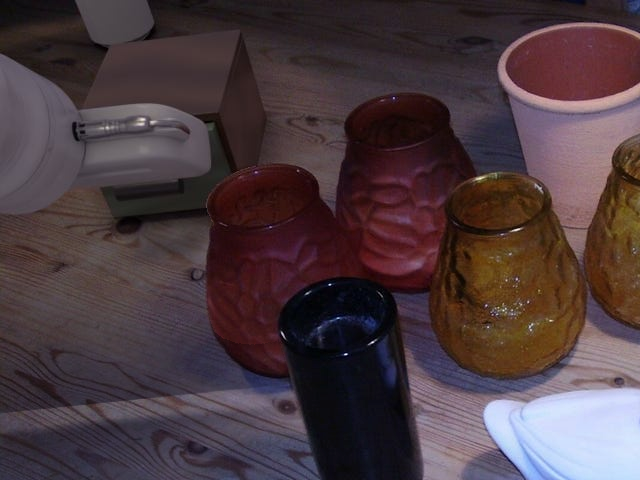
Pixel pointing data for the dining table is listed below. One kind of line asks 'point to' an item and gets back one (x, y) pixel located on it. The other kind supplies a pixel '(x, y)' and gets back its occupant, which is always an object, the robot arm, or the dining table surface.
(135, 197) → the drawer
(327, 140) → the dining table surface
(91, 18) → the can
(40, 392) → the dining table surface
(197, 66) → the cabinet
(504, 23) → the dining table surface
